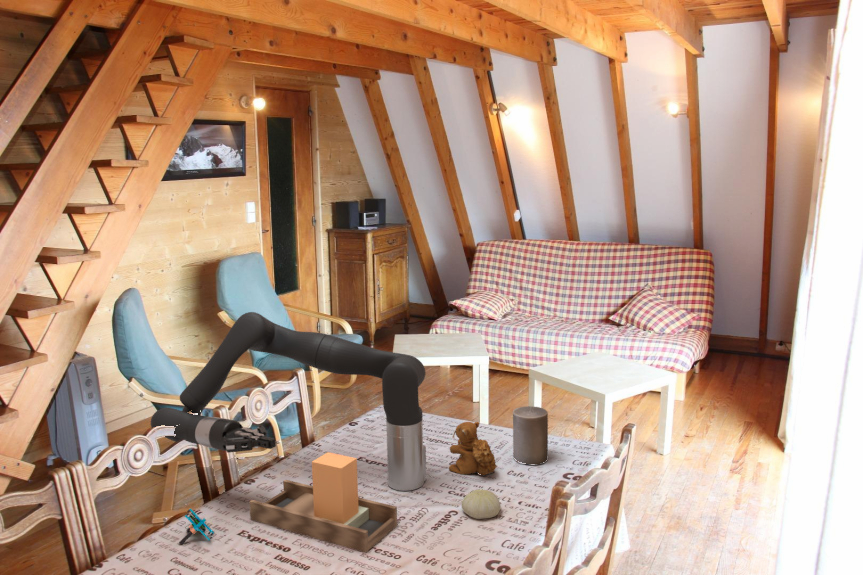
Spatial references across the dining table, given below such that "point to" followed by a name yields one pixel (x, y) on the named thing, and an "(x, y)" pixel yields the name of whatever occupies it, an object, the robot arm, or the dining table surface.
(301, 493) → the open wooden box
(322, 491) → the orange block
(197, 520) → the stick construction toy
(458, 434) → the stuffed squirrel
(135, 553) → the dining table surface
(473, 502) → the sea urchin shell
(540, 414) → the pillar candle
